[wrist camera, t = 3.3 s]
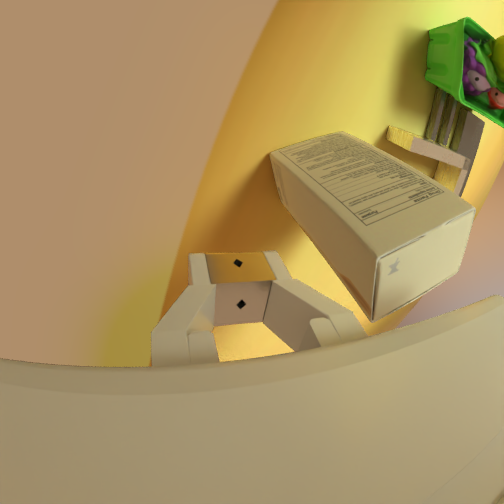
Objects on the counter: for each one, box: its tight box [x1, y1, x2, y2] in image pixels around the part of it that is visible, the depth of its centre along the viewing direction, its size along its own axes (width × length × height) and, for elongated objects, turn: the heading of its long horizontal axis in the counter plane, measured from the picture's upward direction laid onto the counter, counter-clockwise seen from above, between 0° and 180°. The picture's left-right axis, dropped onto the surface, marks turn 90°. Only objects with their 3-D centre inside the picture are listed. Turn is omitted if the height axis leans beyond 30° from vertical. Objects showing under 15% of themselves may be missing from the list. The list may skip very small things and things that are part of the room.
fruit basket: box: [425, 17, 504, 128], centre depth 12 cm, size 11×9×11 cm
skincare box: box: [270, 131, 476, 323], centre depth 15 cm, size 6×4×12 cm
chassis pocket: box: [386, 88, 485, 197], centre depth 22 cm, size 18×13×3 cm
